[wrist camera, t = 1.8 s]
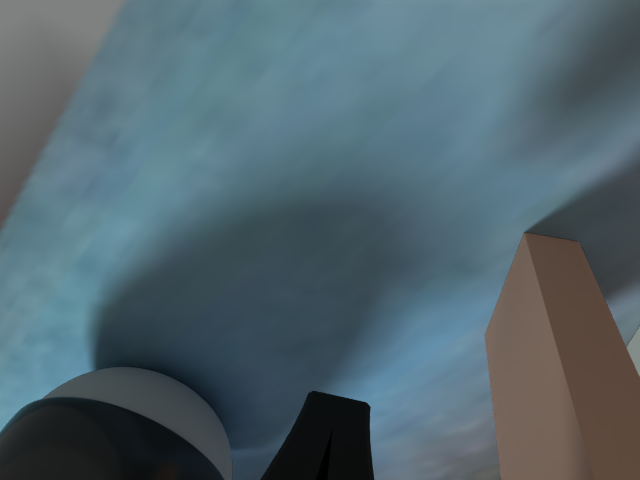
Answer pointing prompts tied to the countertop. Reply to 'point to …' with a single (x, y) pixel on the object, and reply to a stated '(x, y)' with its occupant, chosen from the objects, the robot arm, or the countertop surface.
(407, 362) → the countertop surface
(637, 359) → the domino
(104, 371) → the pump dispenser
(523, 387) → the end domino
